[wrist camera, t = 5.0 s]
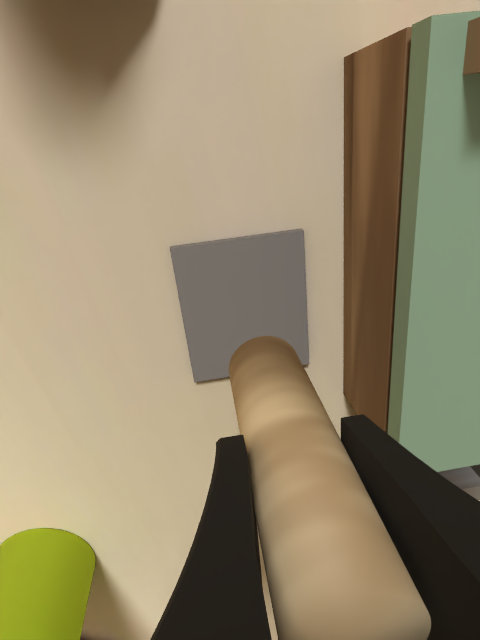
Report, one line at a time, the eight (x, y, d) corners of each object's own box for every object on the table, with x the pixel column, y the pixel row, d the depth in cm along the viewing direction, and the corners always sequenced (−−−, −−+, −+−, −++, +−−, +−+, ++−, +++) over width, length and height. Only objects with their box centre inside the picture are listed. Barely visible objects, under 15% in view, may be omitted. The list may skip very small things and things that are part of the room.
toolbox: (581, 31, 17) (728, -7, 12) (496, 445, 26) (561, 511, 22) (344, 57, 16) (406, 27, 12) (343, 472, 25) (378, 546, 21)
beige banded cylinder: (308, 344, 15) (458, 599, 7) (284, 402, 16) (389, 687, 8) (241, 328, 14) (316, 586, 6) (219, 389, 15) (260, 684, 7)
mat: (301, 228, 19) (303, 230, 18) (306, 360, 22) (309, 364, 21) (170, 246, 18) (169, 249, 18) (194, 377, 21) (194, 382, 21)
